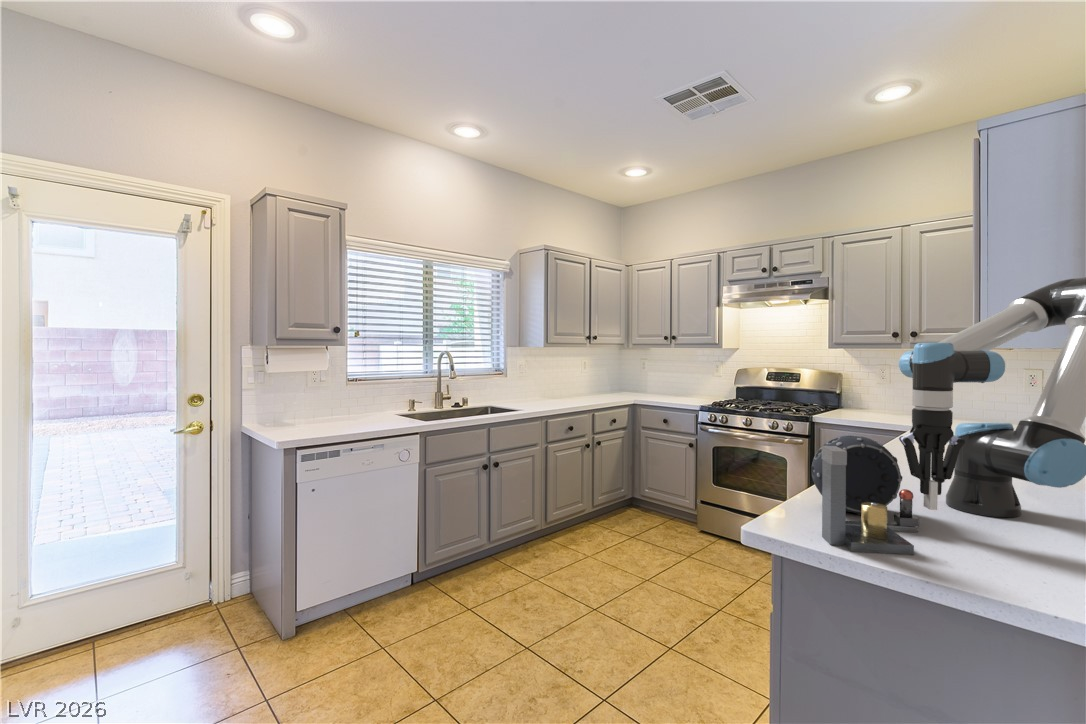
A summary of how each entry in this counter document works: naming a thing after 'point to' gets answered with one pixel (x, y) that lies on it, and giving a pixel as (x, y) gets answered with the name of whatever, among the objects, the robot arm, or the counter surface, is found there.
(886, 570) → the counter surface
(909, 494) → the lever
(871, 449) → the dark studded drum
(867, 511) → the cylinder
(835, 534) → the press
